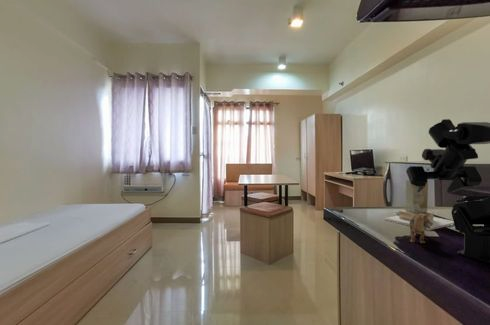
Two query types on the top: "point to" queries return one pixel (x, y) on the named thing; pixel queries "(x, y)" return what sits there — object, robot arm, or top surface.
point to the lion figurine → (419, 226)
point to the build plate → (436, 224)
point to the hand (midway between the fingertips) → (432, 191)
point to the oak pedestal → (410, 215)
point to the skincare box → (416, 198)
